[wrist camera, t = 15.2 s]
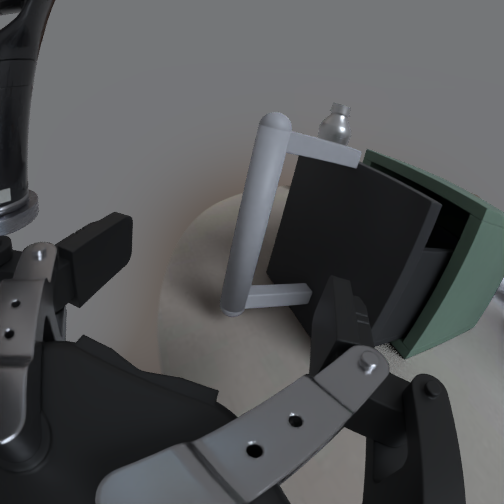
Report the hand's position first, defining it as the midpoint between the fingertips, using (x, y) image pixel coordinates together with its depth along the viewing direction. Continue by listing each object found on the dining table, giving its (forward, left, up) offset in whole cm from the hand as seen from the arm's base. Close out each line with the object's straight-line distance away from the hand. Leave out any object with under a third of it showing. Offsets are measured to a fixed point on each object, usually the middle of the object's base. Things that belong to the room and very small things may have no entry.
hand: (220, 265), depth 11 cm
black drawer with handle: (+14, +6, -9) cm, 18 cm away
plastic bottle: (+32, +39, -9) cm, 51 cm away
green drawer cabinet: (+25, +6, -9) cm, 27 cm away
